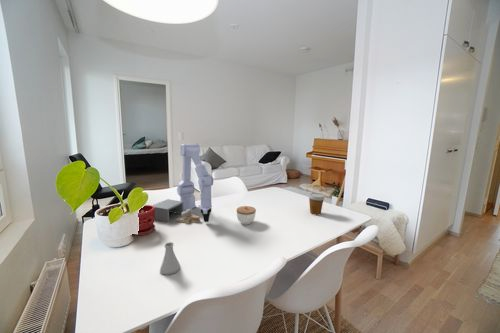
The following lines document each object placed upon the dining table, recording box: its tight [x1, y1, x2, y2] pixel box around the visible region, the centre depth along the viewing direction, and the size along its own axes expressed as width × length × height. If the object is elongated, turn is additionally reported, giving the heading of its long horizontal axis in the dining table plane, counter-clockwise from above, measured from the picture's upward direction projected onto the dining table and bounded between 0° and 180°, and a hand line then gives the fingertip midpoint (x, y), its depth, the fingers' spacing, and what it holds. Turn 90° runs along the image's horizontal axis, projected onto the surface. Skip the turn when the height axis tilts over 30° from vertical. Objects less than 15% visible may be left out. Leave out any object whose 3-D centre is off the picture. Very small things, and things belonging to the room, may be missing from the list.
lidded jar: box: [236, 205, 256, 225], centre depth 124 cm, size 11×11×9 cm
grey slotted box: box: [151, 198, 185, 223], centre depth 132 cm, size 14×12×8 cm
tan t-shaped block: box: [176, 209, 201, 224], centre depth 126 cm, size 8×12×5 cm
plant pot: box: [137, 204, 156, 236], centre depth 111 cm, size 13×13×12 cm
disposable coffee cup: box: [308, 192, 325, 216], centre depth 139 cm, size 10×10×12 cm
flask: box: [159, 241, 181, 276], centre depth 82 cm, size 7×7×10 cm
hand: (206, 221), depth 123 cm, fingers closed
